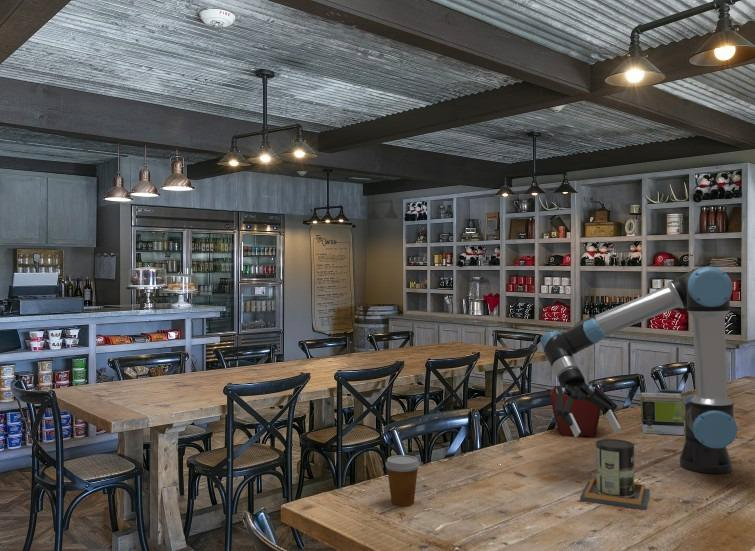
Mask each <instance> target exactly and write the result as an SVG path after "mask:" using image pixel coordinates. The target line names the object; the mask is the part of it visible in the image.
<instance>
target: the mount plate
mask: <svg viewBox="0 0 755 551" xmlns="http://www.w3.org/2000/svg"><path fill="white" fill-rule="evenodd" d="M650 490H651V489H650V488H646V484H643V483H636V482H634V492H635V495H634V496H633V497H631V498H625V497H618V496H610V495H603V494H599V493H597V477H596V478H594V477H592V478H591V480H590V481H587V483H586V485H585V487H584V488H583V491H582V493H581V495H580V496H579V501H580V500H581V502H587V501H589V502H588V503H594V502H596V503H595V504H601V503H602V505H610V506H616V507H623V508H631V509H639V510H647V506H648V502H649V498H650V494H651V492H650Z"/></svg>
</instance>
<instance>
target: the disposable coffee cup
mask: <svg viewBox="0 0 755 551" xmlns="http://www.w3.org/2000/svg"><path fill="white" fill-rule="evenodd" d="M385 467H386V470H387V477H388V483H389V484H388V486H389V493H390V500H391V504H393V505H395V506H399V507H408V506H411V505H414V503H415V496H416V486H417V478H418V469H419V467H420V462H419V459H418V458H417V457H416V456H414V455H413V456H412V455H405V454H399V455H398V454H397V455H393V456H392V455H391V456H389V457H387V459H386V462H385Z"/></svg>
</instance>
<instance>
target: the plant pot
mask: <svg viewBox="0 0 755 551" xmlns="http://www.w3.org/2000/svg"><path fill="white" fill-rule="evenodd" d="M558 386H559V385H553V388H552V390H551V392H550V394H549V396H550V402H551V407H552V408H551V409H552V411H553V416H554V419H555V422H556V426H557V430H558V432H559V435H560V434H561V435H560V436H567V435H569V436H570V437H571V436H572V437H575V436H574V434H573V432H572V430H571V428H570V426H567V424H566V422H565V420H564V419H561V416H556V394H555V390H556V388H557V387H558ZM561 388H562V387H561ZM598 388H599V389H600V390H601V391H602V392H603V391H604V388H603V387H599V386H598ZM603 393H604V392H603ZM589 396H590V395H589V394H588V396H587V397H589ZM567 399H568V395H566V394H565V393H563V410H564V408H565V405H566V403H567ZM601 411H602V410H601V409H600V408H598V407H597V406H595V405H594V404H592V403H591V402H587V401H586V400H578V401H575V400H573V402H572V405H571V407H570V410H569V413H572V415H573V417H574V419H575V421H576V423H577V425H578V427H579V429H580V431H581V433H580V434H579V435H578V437H583V436H588V438H595V436H596V434H597V430H598V426H599V421H600V417H601ZM569 413H568V414H569Z"/></svg>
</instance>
